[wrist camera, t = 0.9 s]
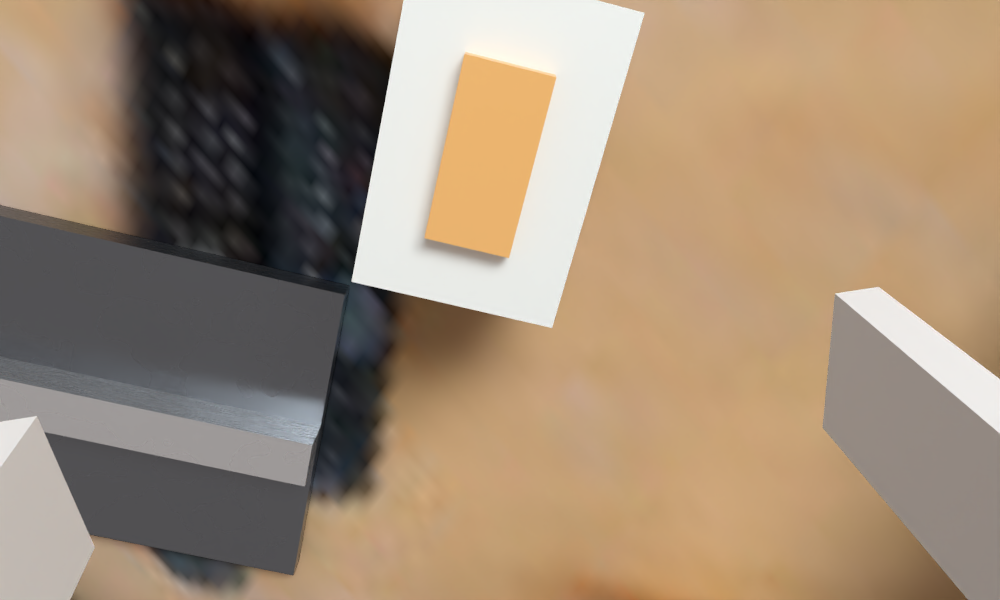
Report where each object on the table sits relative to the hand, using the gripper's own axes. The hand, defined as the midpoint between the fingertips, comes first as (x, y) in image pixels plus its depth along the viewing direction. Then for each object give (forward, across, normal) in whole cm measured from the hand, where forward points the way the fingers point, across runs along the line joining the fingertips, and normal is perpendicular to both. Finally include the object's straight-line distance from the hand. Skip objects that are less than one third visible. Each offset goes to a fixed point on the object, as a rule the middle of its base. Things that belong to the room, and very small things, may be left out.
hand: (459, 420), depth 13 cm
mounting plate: (+19, +14, +9) cm, 25 cm away
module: (+18, -3, -1) cm, 18 cm away
